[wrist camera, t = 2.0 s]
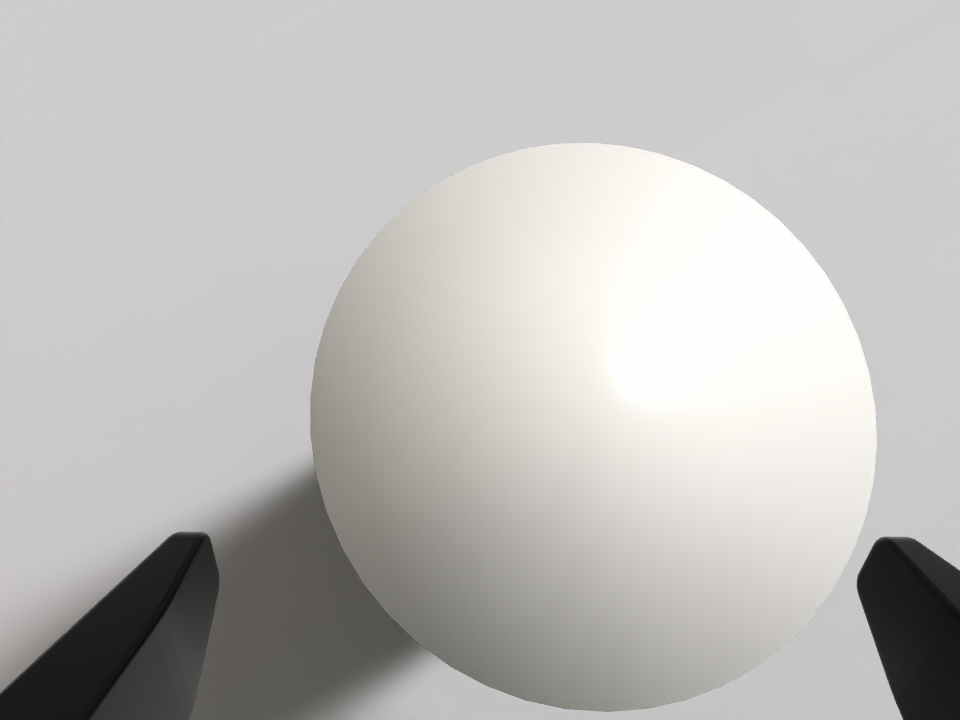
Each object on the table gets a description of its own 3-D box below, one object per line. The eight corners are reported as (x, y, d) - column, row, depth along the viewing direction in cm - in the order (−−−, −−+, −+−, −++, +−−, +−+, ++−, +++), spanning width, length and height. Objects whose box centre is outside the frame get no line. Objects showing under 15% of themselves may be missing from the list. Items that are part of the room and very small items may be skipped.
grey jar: (610, 580, 18) (907, 710, 7) (390, 578, 18) (290, 712, 6) (604, 366, 19) (846, 152, 8) (398, 361, 19) (328, 133, 7)
